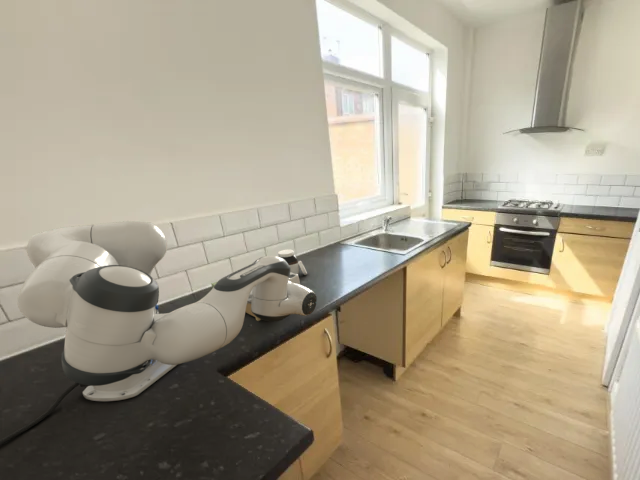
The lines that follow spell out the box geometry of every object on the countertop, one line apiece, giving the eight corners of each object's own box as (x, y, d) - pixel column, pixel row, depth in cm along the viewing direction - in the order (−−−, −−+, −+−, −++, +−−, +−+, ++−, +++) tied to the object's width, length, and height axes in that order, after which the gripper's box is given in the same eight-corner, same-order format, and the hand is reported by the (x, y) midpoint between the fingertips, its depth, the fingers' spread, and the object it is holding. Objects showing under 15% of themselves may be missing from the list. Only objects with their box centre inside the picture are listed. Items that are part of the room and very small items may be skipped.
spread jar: (276, 275, 147) (272, 251, 142) (298, 269, 154) (295, 245, 149) (289, 282, 139) (285, 257, 134) (311, 275, 146) (308, 251, 141)
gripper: (251, 312, 97) (228, 300, 105) (304, 289, 112) (280, 280, 120) (247, 293, 95) (223, 283, 102) (301, 272, 109) (277, 264, 117)
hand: (254, 281), depth 111 cm, fingers closed on syrup box, 6 cm apart
